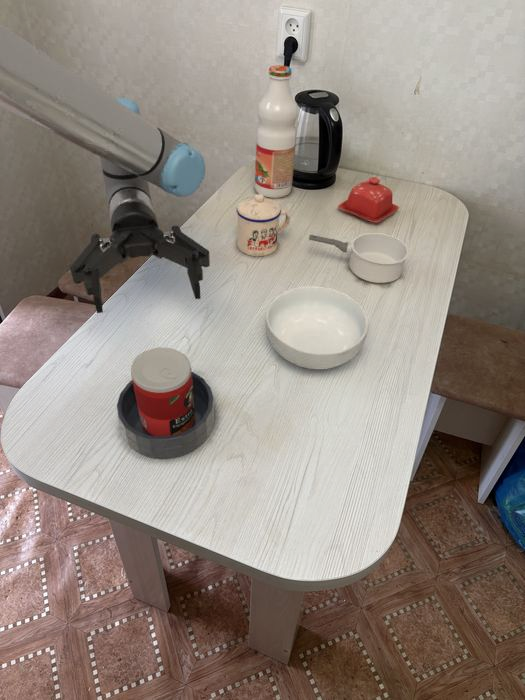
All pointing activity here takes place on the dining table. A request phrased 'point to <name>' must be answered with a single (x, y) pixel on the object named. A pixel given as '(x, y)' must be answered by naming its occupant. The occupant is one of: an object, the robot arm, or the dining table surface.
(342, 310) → the cereal bowl
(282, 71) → the fruit juice
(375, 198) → the butter dish
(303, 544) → the dining table surface
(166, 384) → the canned food
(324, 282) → the dining table surface
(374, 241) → the saucepan
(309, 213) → the dining table surface
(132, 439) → the dark grey round dish
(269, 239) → the teacup with lid
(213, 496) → the dining table surface
